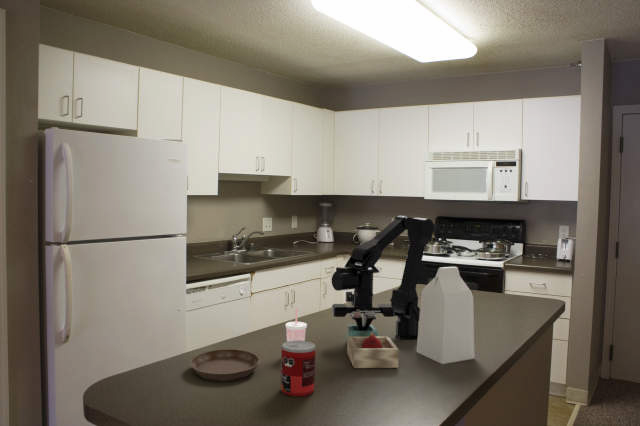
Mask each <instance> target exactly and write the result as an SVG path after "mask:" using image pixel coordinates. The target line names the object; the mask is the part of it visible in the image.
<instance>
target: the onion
mask: <svg viewBox="0 0 640 426" xmlns="http://www.w3.org/2000/svg"><path fill="white" fill-rule="evenodd" d="M362 348H382V344H381V342H380V340H379V339H378V338H376V337H375V334H374V333H371V335H370V336H369V337H368V338H366V339H365V340H364V342H363V344H362Z"/></svg>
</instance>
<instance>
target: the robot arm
mask: <svg viewBox="0 0 640 426" xmlns="http://www.w3.org/2000/svg"><path fill="white" fill-rule="evenodd" d="M435 228H436V227H435V223H434V222H433V220H432V219H430V218H422V217H410V216H407V215H397V216H395V217H394V219H393V220H392V221H391V222H390V223H389V224H388V225H386V226H385V227H384V228H383V229H382V230H381V231H380V232H379V233H378V234H376V235H375V236H374V237H372V239H370V240H368V241H365V242H362V243H361V244H358V245H357V246H355V247H354V248H353V250H352V251H351V252H352V253H351V255H350V257H349V258H348V260H347V262H346V263H345V265H344V267H340V266H338V267H336V268H335V271H334V272H333V274H332V276H331V285H332V288H333V289H334V291H338V292H339V291H346V290H347V291H346V292H345V303H333V304H332V305H331V314H332V315H333V317H335V318H345V317H346V316H347V315H348V314H349V317H351V319H352V320H354V321H355V323H356V324H355V325H357V327H358V330H359V331H367V329H368V327H369V325H372V322H373V320H377V317H376V314H382V316H383V317H387V318H392V317H393V318H394V317H397V320H396V322H395V335H397V337H398V338H399V339H400V340H408V339H409V340H412V339H414V340H417V339H418V328H419V316H420V307H419V296H418V292H417V283H418V279H419V275H420V270H421V265H422V261H423V256H424V252H425V248H426V245H427V244H428V243H429V242H430V241H431V239H432V238H433V235H434V231H435ZM406 230H407V234H406V235H407V237H408V241H409V246H408V250H407V254H406V259H405V264H404V268H403V272H402V273H403V274H402V277H401V282H400V285H399V287H397V289H393V290H392V293H391V298H390V299H389V302H390V303H378V306H373V300H374V299H373V297H374V290H373V289H374V274H378V273H380V270H379V269H378V268H377V267H376V266H375V265H376V264H377V263H378V261H379V260H380V259H381V257H382V254H383V252H384V250H385V249H386V248H388V247H389V246H390V245H391V244H392V243H393V242H394V241H395V240H396V239H397V238H399V236H400V235H402V234H403V233H404V232H405V231H406ZM348 290H353V291H348ZM346 303H351V306H347V305H346ZM361 314H362V315H363V316H361ZM362 325H363V326H362Z"/></svg>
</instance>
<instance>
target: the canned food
mask: <svg viewBox="0 0 640 426" xmlns="http://www.w3.org/2000/svg"><path fill="white" fill-rule="evenodd" d="M316 348H317V347H316V344H315V343H313V342H310V341H308V340H307V341H306V340H305V341H288V342H287V341H285V342H283V343H282V345H281V358H280V359H281V360H280V361H281V363H280V364H281V365H280V366H281V367H280V370H281V371H280V389H281V392H282V393H283V394H285V395H286V394H287V396H291V397H305V396H310V395H311V394H312V393H313V392H314V390H315V382H316V381H315V378H316V377H315V376H316Z"/></svg>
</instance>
